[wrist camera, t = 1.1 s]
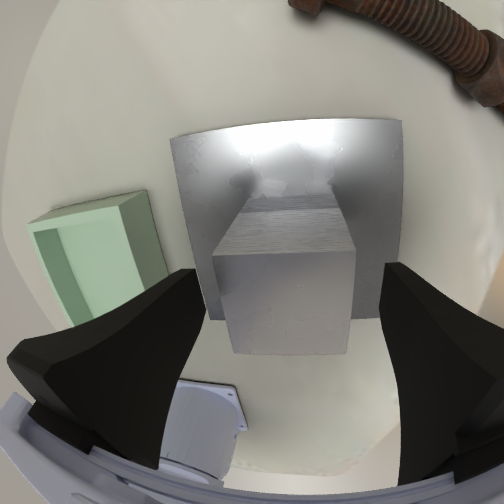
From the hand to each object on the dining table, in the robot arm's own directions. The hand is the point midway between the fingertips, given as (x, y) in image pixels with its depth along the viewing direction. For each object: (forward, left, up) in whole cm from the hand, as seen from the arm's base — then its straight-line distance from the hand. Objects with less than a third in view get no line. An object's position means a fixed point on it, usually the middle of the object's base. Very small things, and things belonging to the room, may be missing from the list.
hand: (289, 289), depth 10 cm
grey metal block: (0, 0, -5) cm, 5 cm away
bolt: (+11, -9, -7) cm, 16 cm away
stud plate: (0, 0, -6) cm, 6 cm away
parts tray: (-3, +14, -6) cm, 16 cm away
